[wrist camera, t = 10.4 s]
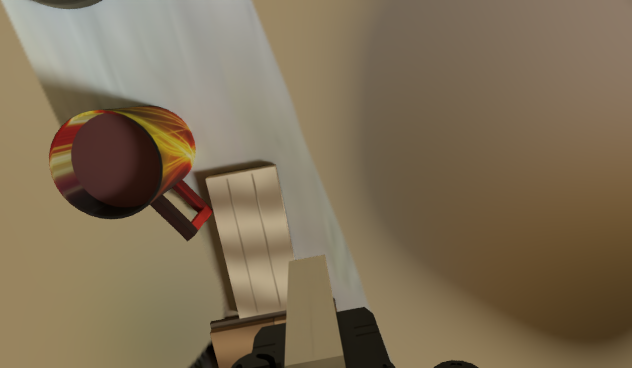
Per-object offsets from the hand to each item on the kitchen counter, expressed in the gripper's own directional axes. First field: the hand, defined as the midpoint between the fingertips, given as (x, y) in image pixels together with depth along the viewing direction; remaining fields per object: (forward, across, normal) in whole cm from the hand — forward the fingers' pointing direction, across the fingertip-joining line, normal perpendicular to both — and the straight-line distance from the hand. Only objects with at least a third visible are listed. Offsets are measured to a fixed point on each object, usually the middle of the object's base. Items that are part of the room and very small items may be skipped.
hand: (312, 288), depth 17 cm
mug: (+33, -15, +3) cm, 36 cm away
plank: (+32, -7, -9) cm, 34 cm away
